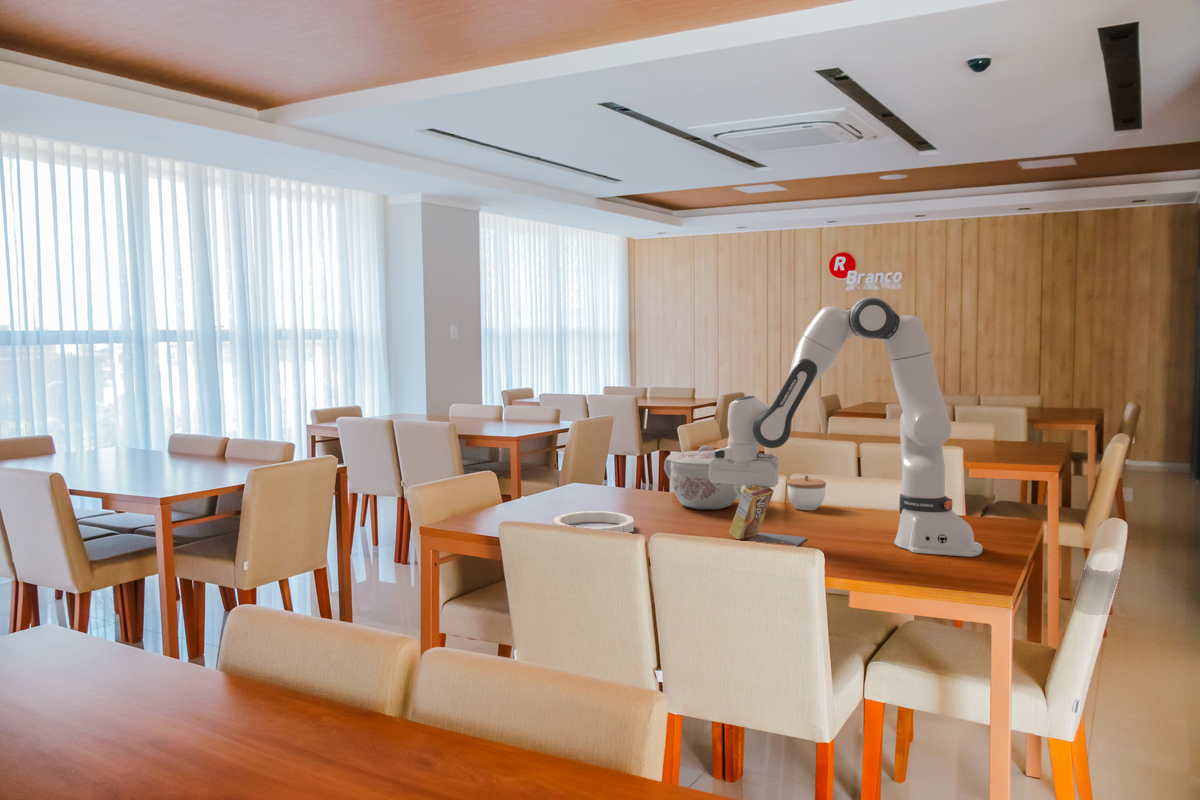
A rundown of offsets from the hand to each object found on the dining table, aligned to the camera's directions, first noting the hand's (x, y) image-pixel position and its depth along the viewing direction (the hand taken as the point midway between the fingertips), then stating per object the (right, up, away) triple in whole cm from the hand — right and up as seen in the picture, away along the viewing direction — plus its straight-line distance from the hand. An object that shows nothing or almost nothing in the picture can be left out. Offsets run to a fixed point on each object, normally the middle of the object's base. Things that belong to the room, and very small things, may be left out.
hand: (743, 500), depth 249 cm
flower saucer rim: (-43, -10, +11) cm, 46 cm away
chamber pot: (-5, -7, +45) cm, 46 cm away
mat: (+9, -11, -4) cm, 15 cm away
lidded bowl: (+28, -8, +40) cm, 49 cm away
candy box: (0, -10, +1) cm, 10 cm away
